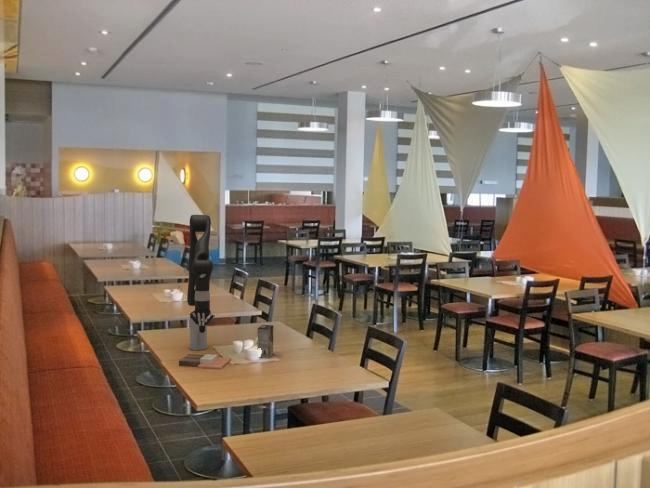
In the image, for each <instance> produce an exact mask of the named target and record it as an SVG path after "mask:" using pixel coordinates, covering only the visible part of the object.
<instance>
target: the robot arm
mask: <svg viewBox="0 0 650 488" xmlns="http://www.w3.org/2000/svg"><path fill="white" fill-rule="evenodd" d="M211 220H212V219H211V217H210V215H208V214H191V215H190V217H189V254H188V255H189V256H188V285H187V294H186V295H187V296H186V297H187V298H186V301H187V305H188V306H190V307H194V310H193V311H191V312H190V313H189V349H190V350H192V351H194V350H195V351H203V350H207V349H208V325H209V324H210V323H211V321H212V320H213V319H214V318H215V316H216V315H215V314H212V311H211V310H210V308H211V293H210V281H211V276H212V274H213V273H212V272H213V270H214V263H213V261H211V259H209V258H210V239H211V227H212V225H211V224H212V223H211V222H212V221H211ZM196 233H203V234H202V236H201V237H200V238H199V239H198V238H197V234H196ZM202 275H205V276H203V277H201V276H202Z"/></svg>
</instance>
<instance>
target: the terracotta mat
mask: <svg viewBox="0 0 650 488" xmlns="http://www.w3.org/2000/svg"><path fill="white" fill-rule="evenodd" d="M230 360H231V361H232V358H231V357H218V356H217V360H216V361H215V362H214V363H212V364H200V365H198V367H197V369H205V370H206V369H208V370H209V369H210V370H222V369H223V368H224V367H225V366H227V365H228V364H229V363H230V362H231V361H230Z"/></svg>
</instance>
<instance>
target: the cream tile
mask: <svg viewBox="0 0 650 488" xmlns="http://www.w3.org/2000/svg"><path fill="white" fill-rule="evenodd" d="M203 355H204V356H203V357H202V358H200V364H212V363H214V362H215V361H216V360H217V357H218V354H209V353H208V354H203Z"/></svg>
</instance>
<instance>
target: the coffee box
mask: <svg viewBox="0 0 650 488" xmlns="http://www.w3.org/2000/svg"><path fill="white" fill-rule="evenodd" d="M258 348H261V350H262V354H261V357H262V359H270V357H272V356H273V355H274V325H272V324H262V325H260V326H259V327H257V349H258Z"/></svg>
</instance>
